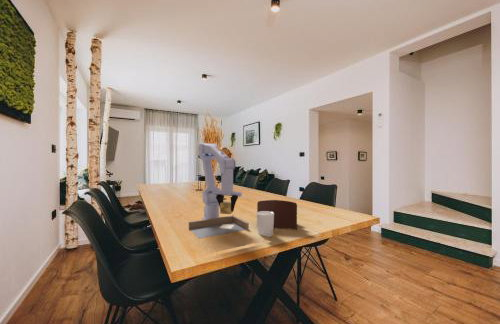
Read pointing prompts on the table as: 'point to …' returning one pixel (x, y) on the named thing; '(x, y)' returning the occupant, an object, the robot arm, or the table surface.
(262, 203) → the letter holder
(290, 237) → the table surface
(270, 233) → the white cup
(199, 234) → the arena
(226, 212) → the ochre block
